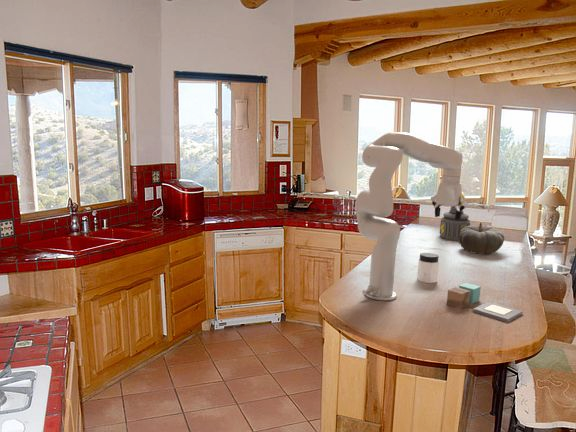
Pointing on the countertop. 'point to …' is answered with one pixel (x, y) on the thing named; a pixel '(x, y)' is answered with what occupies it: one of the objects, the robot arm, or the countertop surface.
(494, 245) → the gourd
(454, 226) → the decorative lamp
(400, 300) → the countertop surface
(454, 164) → the robot arm
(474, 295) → the teal block
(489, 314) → the grey square plate
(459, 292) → the walnut block
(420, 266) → the jar
